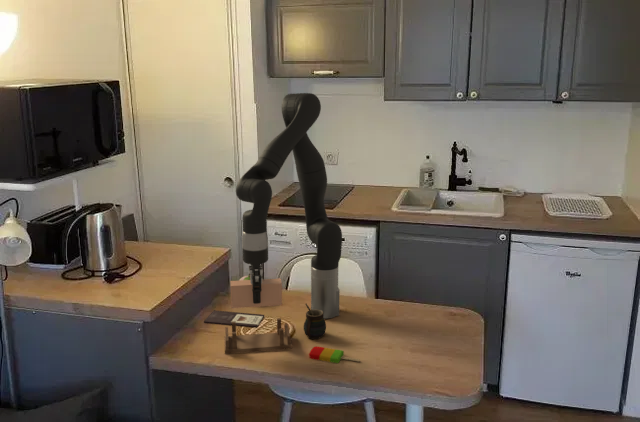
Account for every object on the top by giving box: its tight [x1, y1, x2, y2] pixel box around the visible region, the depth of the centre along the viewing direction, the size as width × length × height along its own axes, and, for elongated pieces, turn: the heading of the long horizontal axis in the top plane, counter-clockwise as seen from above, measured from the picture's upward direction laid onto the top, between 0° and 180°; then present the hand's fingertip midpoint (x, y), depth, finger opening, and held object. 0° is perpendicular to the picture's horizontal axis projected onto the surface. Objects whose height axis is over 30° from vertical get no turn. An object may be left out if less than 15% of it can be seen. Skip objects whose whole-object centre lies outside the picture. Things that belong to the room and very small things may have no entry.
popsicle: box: [308, 346, 361, 364], centre depth 174 cm, size 6×15×2 cm, turn 72°
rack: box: [224, 317, 293, 355], centre depth 181 cm, size 20×9×6 cm, turn 99°
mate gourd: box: [303, 303, 327, 340], centre depth 187 cm, size 7×8×10 cm
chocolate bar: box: [203, 309, 265, 329], centre depth 199 cm, size 9×1×18 cm
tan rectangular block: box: [230, 277, 283, 309], centre depth 178 cm, size 15×4×7 cm, turn 99°
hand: (256, 299), depth 178 cm, fingers closed on tan rectangular block, 4 cm apart
